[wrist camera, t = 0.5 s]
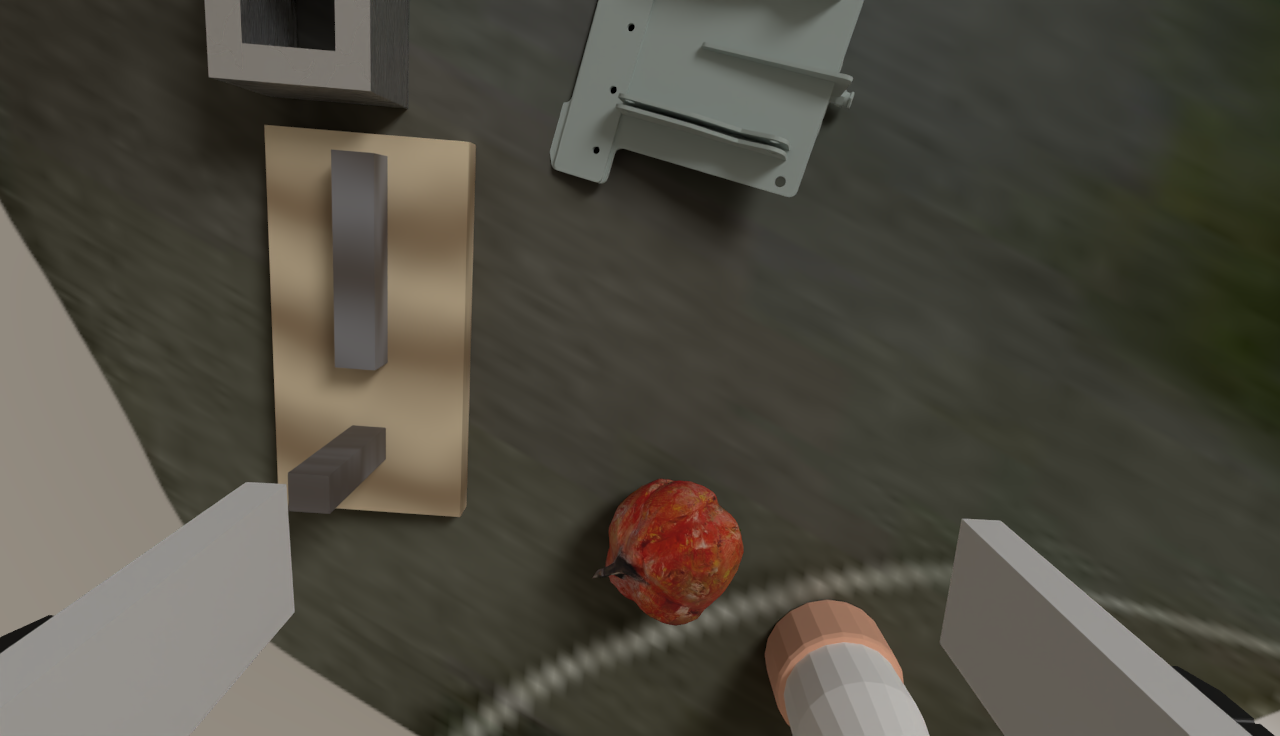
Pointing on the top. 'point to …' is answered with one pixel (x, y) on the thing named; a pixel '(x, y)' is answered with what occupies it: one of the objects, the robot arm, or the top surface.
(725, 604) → the top surface
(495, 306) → the top surface
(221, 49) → the grey square socket block
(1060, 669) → the robot arm
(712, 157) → the metal bracket
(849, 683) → the pepper shaker
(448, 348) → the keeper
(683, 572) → the pomegranate
